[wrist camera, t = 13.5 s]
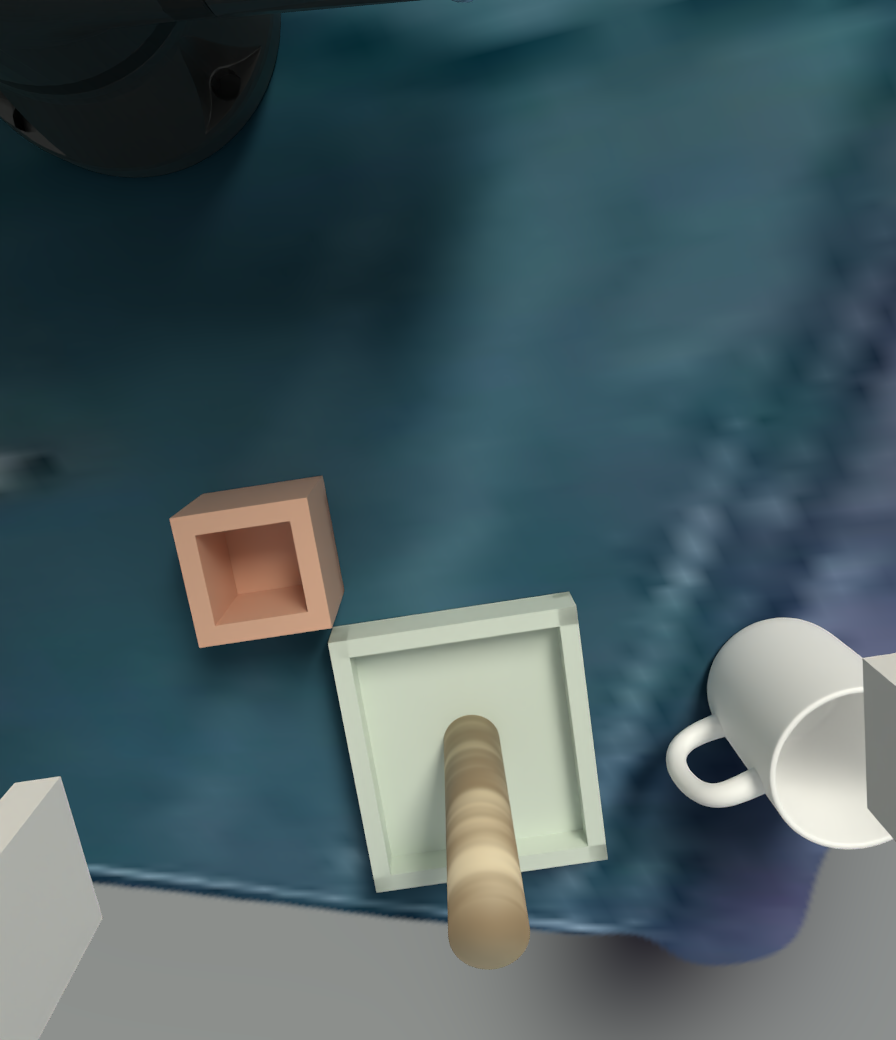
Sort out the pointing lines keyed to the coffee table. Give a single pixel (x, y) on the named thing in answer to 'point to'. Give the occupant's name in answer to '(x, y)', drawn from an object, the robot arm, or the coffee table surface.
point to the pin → (481, 849)
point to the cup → (788, 731)
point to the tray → (459, 692)
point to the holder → (259, 561)
